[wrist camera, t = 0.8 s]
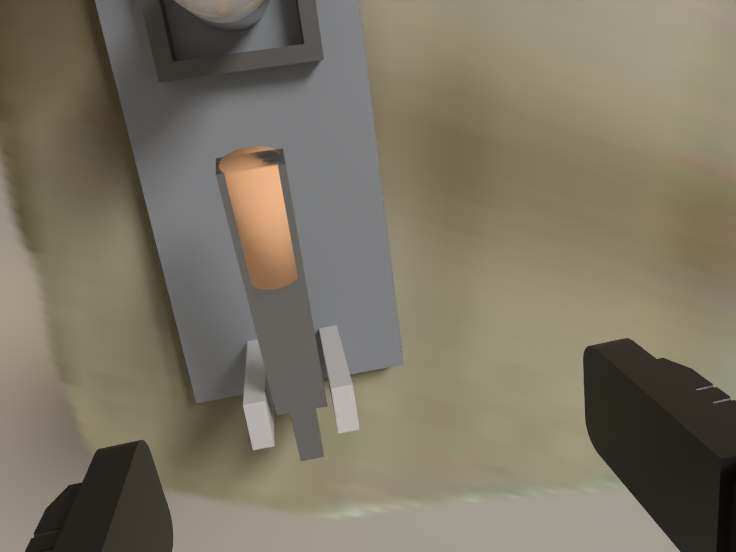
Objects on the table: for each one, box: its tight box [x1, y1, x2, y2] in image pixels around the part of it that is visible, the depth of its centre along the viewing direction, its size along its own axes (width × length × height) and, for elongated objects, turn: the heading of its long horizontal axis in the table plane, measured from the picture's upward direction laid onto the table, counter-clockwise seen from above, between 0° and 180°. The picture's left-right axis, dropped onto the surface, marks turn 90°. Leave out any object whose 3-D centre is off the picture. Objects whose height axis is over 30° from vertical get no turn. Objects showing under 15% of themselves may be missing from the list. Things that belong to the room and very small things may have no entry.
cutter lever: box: [216, 146, 327, 461], centre depth 27 cm, size 17×2×2 cm, turn 7°
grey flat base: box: [95, 0, 404, 450], centre depth 28 cm, size 30×12×8 cm, turn 7°
